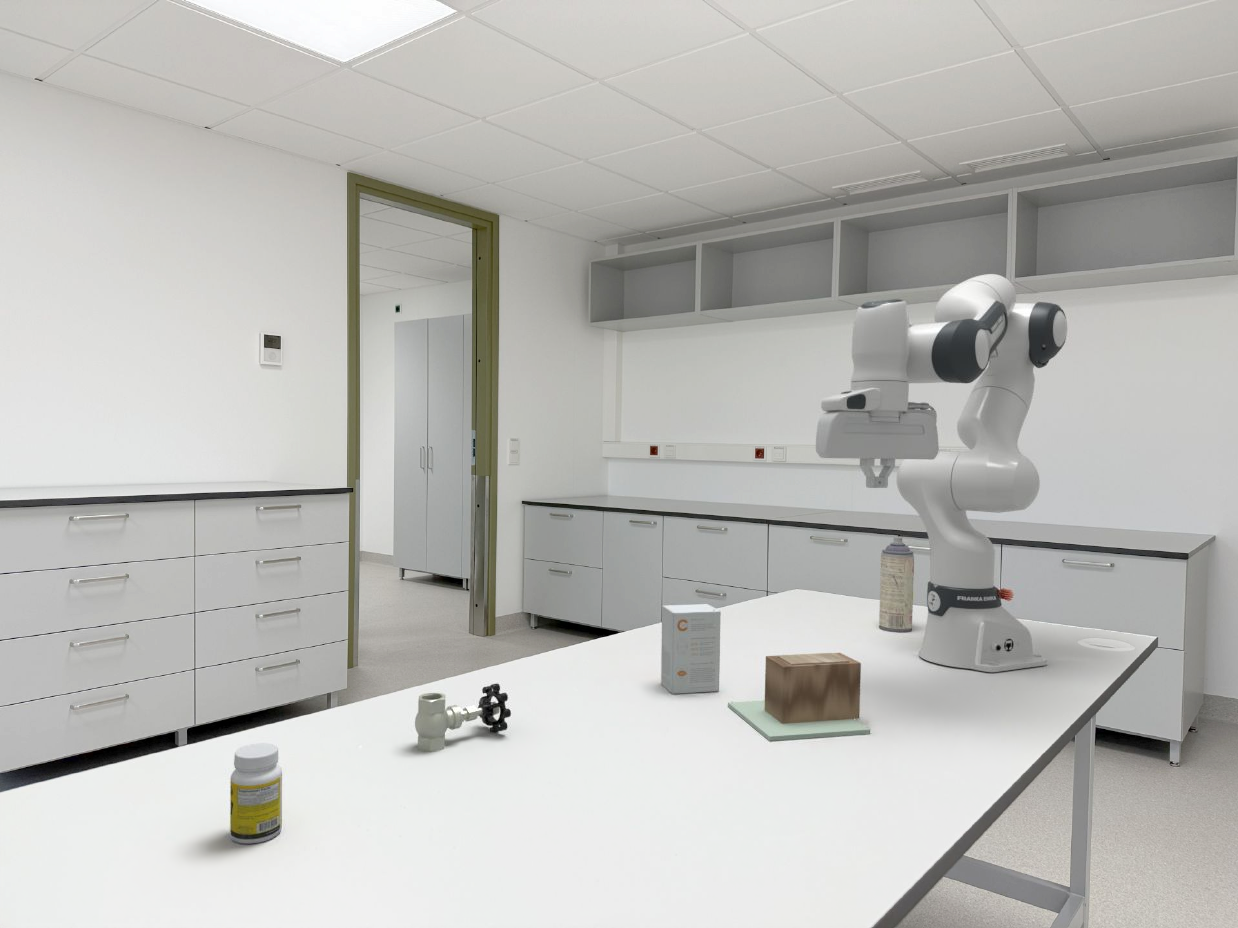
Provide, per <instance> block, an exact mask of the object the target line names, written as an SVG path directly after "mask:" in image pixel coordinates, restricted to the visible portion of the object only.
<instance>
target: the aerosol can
mask: <svg viewBox="0 0 1238 928" xmlns="http://www.w3.org/2000/svg"><path fill="white" fill-rule="evenodd" d="M914 566H915V556H914V551H911V549H910V548H909V546H908V545H906V544H905V542H903V537H901V536H893V541H892V542H890V543H889V544H888V545H887V546H886V547H885V549H882V550H881V555H880V579H879V580H880V581H879V582H880V583H879V584H880V585H879V586H880V587H879V588H880V589H879V612H878V613H879V615H878V616H879V618H878V619H879V621H878V624H879V626H878V627H879V629H880V630H882V631H885V632H891V633H911V632H912V631H913V610H914V609H913V606H914V605H913V604H914V578H915V577H914V575H915V572H914V569H915V568H914Z"/></svg>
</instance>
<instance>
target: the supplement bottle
mask: <svg viewBox="0 0 1238 928" xmlns="http://www.w3.org/2000/svg"><path fill="white" fill-rule="evenodd" d="M278 763H279V747H278V746H277V745H275V744H272V743H267V742H266V743H265V742H264V743H252V744H248V745H244V746H242V747H239V748H238V749H237V750H236V751H235V752H234V759H233V766H234V770H233V771H232V773H231V775H230V779H229V781H230V782H229V783H230V805H229V806H230V807H229V808H230V809H229V810H230V811H229V813H230V816H229V817H230V818H229V819H230V821H229V822H230V823H229V824H230V825H229V827H230V829H229V830H230V838H231V840H232V841H233V842H235V843H238V844H244V845H245V844H247V845H249V844H250V845H251V844H257V843H258V844H260V843H262V842H263V843H264V842H267V841H269V840H272V839H273V838H275V837H277V835H279V834H280V833H281V831H282V827H283V770H282V767H281V766H280V764H278Z"/></svg>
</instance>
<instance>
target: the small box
mask: <svg viewBox="0 0 1238 928" xmlns="http://www.w3.org/2000/svg"><path fill="white" fill-rule="evenodd" d="M660 650H661V653H660V654H661V657H660V658H661V659H660V660H661V661H660V663H661V665H660V666H661V667H660V671H661V673H660V677H661V678H660V684H661V686H663V687H664V688H665V689H667V691H668V692H669V693H670V694H672V695H678V694H692V693H708V692H709V693H710V692H719V691H720V673H721V672H720V668H721V667H720V665H721V664H720V663H721V662H720V661H721V611H720V610H719V609H718V608H716V607H714V606H712V605H710V604H708V603H701V604H700V603H698V604H671V605H670V604H669V605H662V606H661V649H660Z"/></svg>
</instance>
